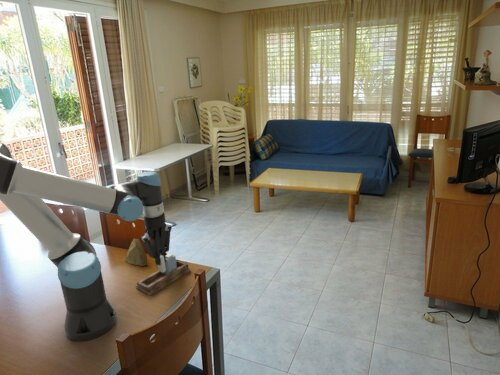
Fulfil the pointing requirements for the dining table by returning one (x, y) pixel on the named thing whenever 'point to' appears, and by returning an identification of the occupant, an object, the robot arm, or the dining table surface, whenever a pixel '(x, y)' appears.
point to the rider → (170, 263)
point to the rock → (136, 254)
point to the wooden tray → (161, 278)
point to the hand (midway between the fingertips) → (162, 270)
